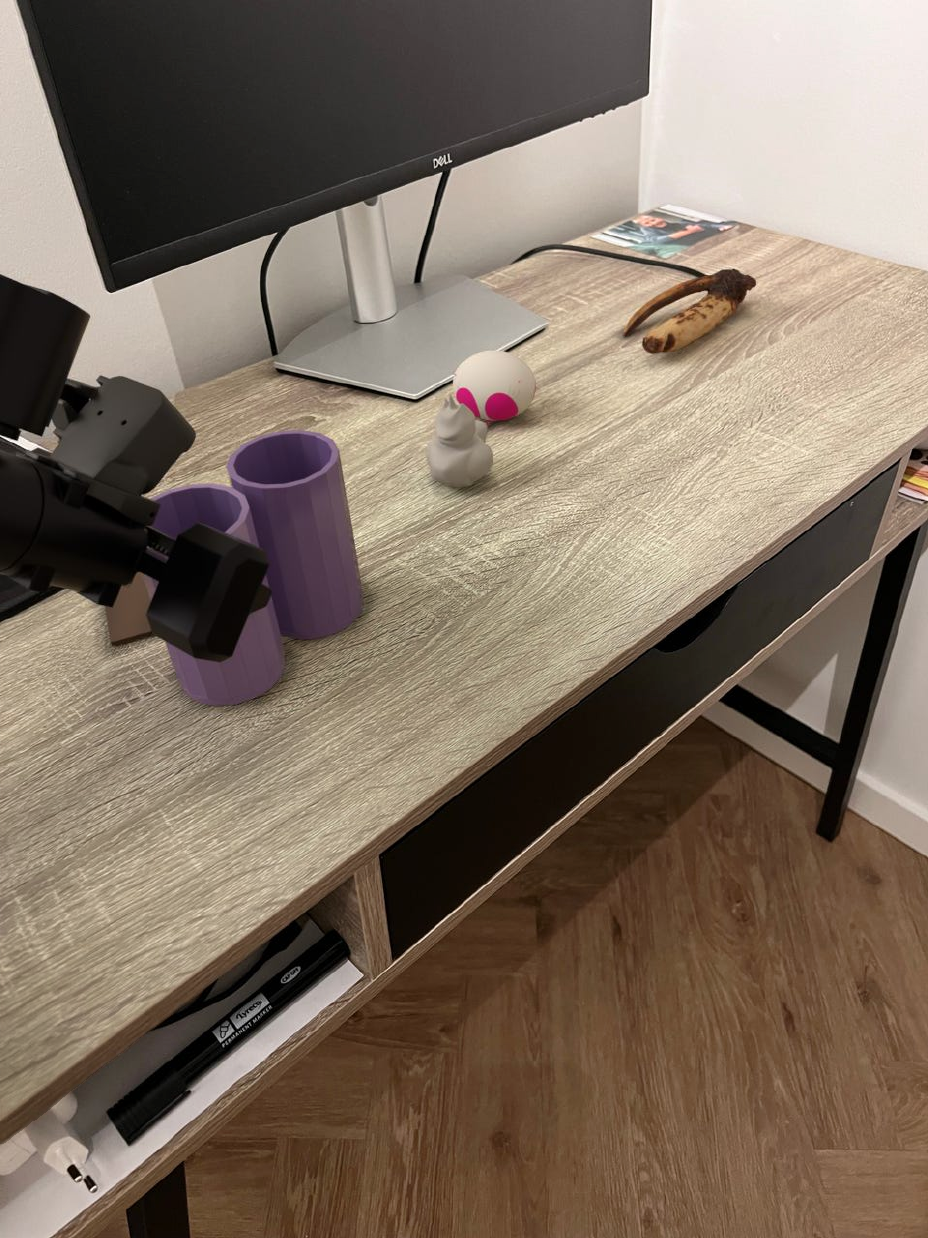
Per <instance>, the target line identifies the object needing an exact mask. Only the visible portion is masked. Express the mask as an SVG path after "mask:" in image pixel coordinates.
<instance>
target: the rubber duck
mask: <svg viewBox="0 0 928 1238" xmlns="http://www.w3.org/2000/svg"><path fill="white" fill-rule="evenodd" d="M485 423H486V422H485V421H482V420H478V419H477V420H476V416H475V415H474V414H473V412H472V411H471V410H470V409H469V408H468V407H466V406H465V405H464V404H463V403H461V404H457V403H456V402H455V400H454V398H453V396H452V394H451V393H449V395H448V399H446V398H444V400H443V402H442V405H441V407H440V409H439V411H438V412H437V414H436V416H435V421H434V435H435V436H434V437H433V438H432V439H430V441H429V442H428V444H427V446H426V454H425V455H426V461H427V465H428V467H429V472H430V475H431V477H432V478H433V480H434V481H436V482H437V483H438V484H441V485H445V486H447V487H450V488H451V487H452V488H466V487H469V486H472V485H473V484H475V483H476V482H477V481H479V480H481V479H482V478H483V477H484V476H485V475H486V474H487V473H488V472H490V470H492V467H493V463H494V452H493V449H492V447H491V446H490V445H489V444H487V441H486V440H487V435H488V424H487V425H486V424H485Z"/></svg>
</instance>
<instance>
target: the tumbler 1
mask: <svg viewBox="0 0 928 1238" xmlns="http://www.w3.org/2000/svg"><path fill="white" fill-rule="evenodd" d="M149 499H151V500H153V501H155V502H158V503H160V504H161V506H160V508H159V511H158V513H157V516H156V518H155V521H154V523H153V525H152V526H151V527H153V528H155V529H157V530H159V531H161V532H163V533H165V534H167V535H169V536H171V537H173V538H175V539H176V538H177V536H178V534H180V533H181V532H183V531H184V530H186V529H188V528H189V527H191V526H192V525H194V524H196V523H197V522H199V523H202V524H204V525H207V526H210V527H213V528H216V529H218V530H220V531H223V532H225V533H228V534H230V535H233V536H235V537H237V538H239V539H241V540H244V541H246V542H248V543H250V544H252V545H254V546H256V547H259V543H258V539H257V535H256V531H255V527H254V523H253V519H252V515H251V510H250V507H249V504H248V502H247V499H246V497H245V495H243V494H242V493H240V492H239V491H237V490H235V489H234V488H232V487H231V486H228V485H223V484H218V483H192V484H186V485H183V486H179V487H174V488H171V489H168V490H164V491H163V492H161V493H158V494H157V495H155V496H152V497H151V498H149ZM259 548H260V547H259ZM147 550H149V551H151V552H153V553H155V554H157V555H159V556H161V557H163V558H165V559H167V560H168V558H169V557H168V556H166V555H163V554H162V553H159V552H158V551H155V550H154V549H152V548H149V546H147ZM141 574H142V577H143V580H144V582H145V585H146V588H147V591H148V594H149V597H150V600H152V597H153V595H154V593H155V590H156V588H157V585H158V583H159V582H158V581H156V580H154V579H153V578H151V577H149V576H147V575H145V574H143V573H141ZM262 584H264V585H265V586H267V587H268V588H269V584H268V580H267V576H266V575H265V577H264V579H263V582H262ZM269 589H270V588H269ZM164 643H165V646H166V648H167V652H168V654H169V658H170V660H171V663H172V667H173V669H174V672H175V675H176V677H177V680H178V683H179V685H180V687H181V689H182V691H183V692H184V694H185V695H186V696H187V697H189V698H190V699H191V700H193V701H195V702H197V703H200V704H202V705H206V706H215V707H220V706H221V707H224V706H225V707H226V706H232V705H238V704H243V703H245V702H248V701H251V700H253V699H256V698H257V697H259V696H261V695H263V694H264V693H266V692H267V691H269V690H270V689H271V688H273V687H274V686H275V685H276V683H277V682H278V681H279V680H280V678H281V677H282V675H283V673H284V671H285V669H286V663H287V661H286V659H287V658H286V650H285V646H284V643H283V638H282V635H281V634H280V629H279V625H278V621H277V617H276V613H275V609H274V605H273V601H272V597H270V599H269V602H268V604H267V606H266V607H265V608H262V609H260V610H258V611H256V612H254V613H251V614H249V616H248V619H247V621H246V623H245V626H244V628H243V631H242V633H241V636H240V638H239V640H238V643H237V645H236V648H235V650H234V653H233V655H232V657H230V658H228V659H227V660H225V661H223V662H221V663H219V662H214V661H208V660H202V659H196V658H194V657H192V656H190V655H188V654H187V653H185V652H183V651H181V650H180V649H178V648H176V647H174V646H173V645H171V644H169V643H168V642H166V641H164Z"/></svg>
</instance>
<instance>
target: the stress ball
mask: <svg viewBox="0 0 928 1238" xmlns="http://www.w3.org/2000/svg"><path fill="white" fill-rule="evenodd" d="M452 375H453V379H452V390H453V394H454V397H455V400H456V402H457V403H458V405H460V404H461V403H463V404H464V405H465V406H466V407H468V408H469V409H470V410H471V411H472V412H473V414H474V415H475V418H478V419H480V420H484V421H486V422H484V423H485V424H486V425H487V426H488V425H489V424H490V423H491V421H492V422H493V421H495V422H496V421H506V420H509V419H510V420H511V419H513V418H514V417H517V416H519V415H520V414H522V413H523V412H524V411H526V410H527V408H528V407H530V405H531V404H532V402H533V400H534V398H535V396H536V392H537V391H536V390H537V383H536V377H535V374H534V372H533V370H532V369H531V367H530V366H529V364H527V362H525V361H524V360H523V359H522V358H520V357H519V356H517V355H515V354H513V353H510V352H508V351H502V350H485V351H480V352H477V353H475V354H472V355H470V356H469V357H467V358H466V359H465V360H464V361H463V362H461V363H460V365H459V366H458V367H457V369H456V371H455V373H454V372H452Z"/></svg>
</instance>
